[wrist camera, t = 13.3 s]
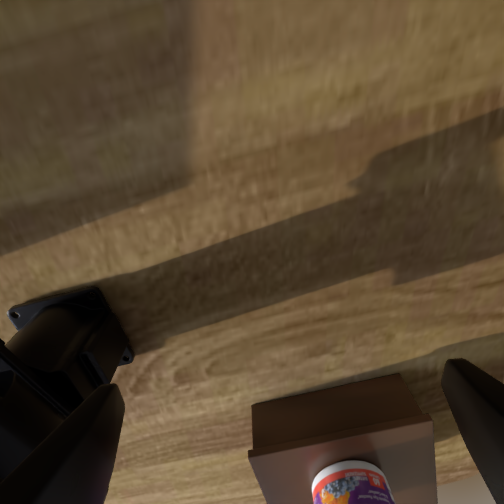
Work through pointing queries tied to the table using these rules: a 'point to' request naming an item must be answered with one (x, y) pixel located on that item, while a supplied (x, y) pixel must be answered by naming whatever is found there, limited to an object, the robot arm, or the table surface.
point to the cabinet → (344, 440)
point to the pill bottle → (351, 484)
